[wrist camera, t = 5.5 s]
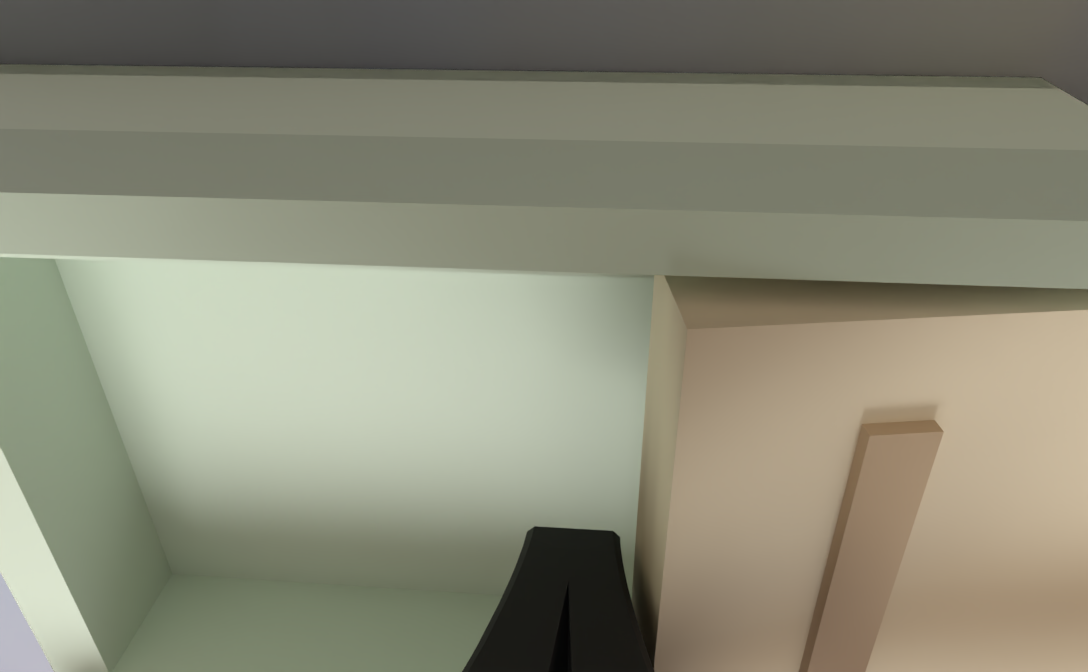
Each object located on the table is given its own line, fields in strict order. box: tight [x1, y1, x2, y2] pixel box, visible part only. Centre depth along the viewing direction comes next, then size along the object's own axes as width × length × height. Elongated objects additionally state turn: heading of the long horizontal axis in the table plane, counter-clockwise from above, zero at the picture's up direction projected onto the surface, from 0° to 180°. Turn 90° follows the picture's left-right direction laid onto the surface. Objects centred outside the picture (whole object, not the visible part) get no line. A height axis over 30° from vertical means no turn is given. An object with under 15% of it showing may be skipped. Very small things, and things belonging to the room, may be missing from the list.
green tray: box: [0, 64, 1088, 672], centre depth 13 cm, size 13×17×5 cm
